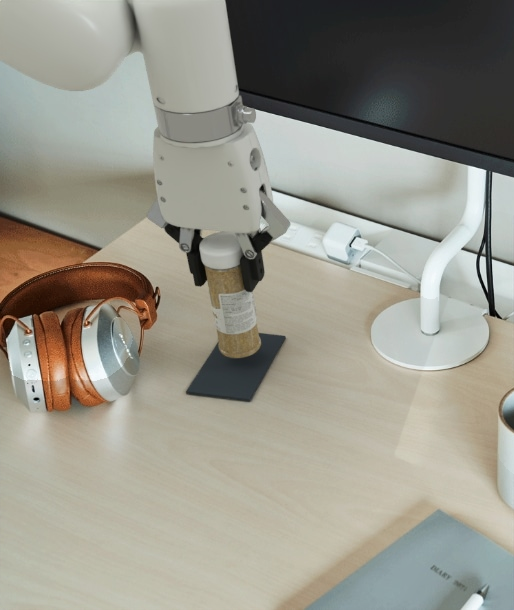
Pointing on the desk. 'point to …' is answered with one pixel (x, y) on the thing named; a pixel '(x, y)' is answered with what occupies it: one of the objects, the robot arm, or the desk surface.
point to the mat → (235, 371)
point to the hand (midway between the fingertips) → (228, 280)
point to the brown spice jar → (229, 296)
